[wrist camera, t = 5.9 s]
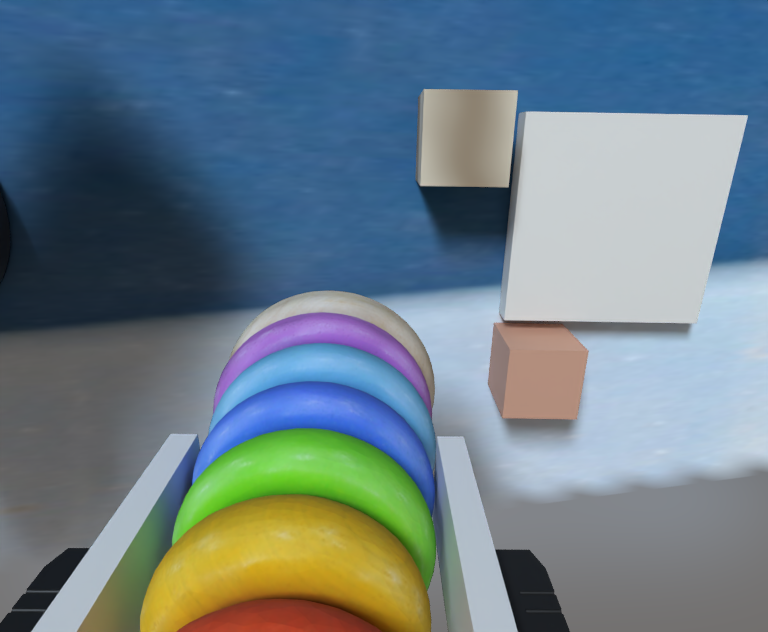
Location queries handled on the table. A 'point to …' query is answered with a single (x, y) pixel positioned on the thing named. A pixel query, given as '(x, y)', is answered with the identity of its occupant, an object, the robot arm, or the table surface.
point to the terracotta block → (536, 371)
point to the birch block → (465, 137)
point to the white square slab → (615, 215)
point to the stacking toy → (309, 481)
